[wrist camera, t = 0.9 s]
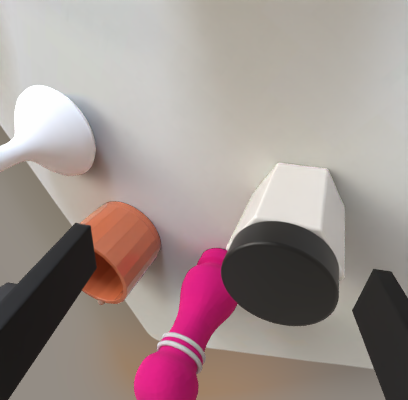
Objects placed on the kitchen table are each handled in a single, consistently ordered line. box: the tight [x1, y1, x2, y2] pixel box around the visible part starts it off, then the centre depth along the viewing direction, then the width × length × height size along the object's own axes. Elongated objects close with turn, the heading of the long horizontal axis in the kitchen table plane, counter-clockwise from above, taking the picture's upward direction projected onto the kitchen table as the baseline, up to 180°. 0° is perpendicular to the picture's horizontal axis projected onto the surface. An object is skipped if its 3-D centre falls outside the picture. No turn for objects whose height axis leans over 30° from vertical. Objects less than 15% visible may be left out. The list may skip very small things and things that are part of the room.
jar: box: [221, 163, 345, 326], centre depth 24 cm, size 9×8×12 cm
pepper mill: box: [134, 248, 238, 400], centre depth 31 cm, size 7×7×20 cm
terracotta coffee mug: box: [80, 201, 161, 305], centre depth 41 cm, size 15×11×8 cm
